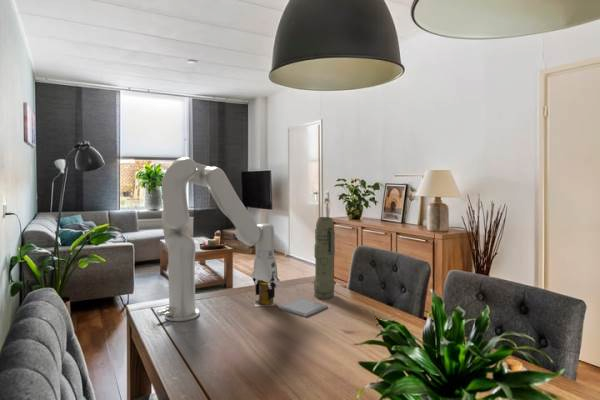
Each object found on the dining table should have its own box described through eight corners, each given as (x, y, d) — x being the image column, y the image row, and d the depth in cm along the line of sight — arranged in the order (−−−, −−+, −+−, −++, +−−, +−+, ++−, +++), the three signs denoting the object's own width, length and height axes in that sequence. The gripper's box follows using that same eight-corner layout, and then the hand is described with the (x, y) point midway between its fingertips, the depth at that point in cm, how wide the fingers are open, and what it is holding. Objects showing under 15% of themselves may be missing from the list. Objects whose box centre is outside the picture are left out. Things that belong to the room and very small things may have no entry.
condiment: (275, 305, 158) (275, 276, 157) (255, 307, 156) (254, 278, 155) (272, 299, 165) (272, 272, 164) (253, 301, 163) (253, 273, 162)
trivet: (305, 317, 144) (305, 315, 144) (278, 309, 153) (278, 306, 153) (327, 307, 155) (327, 305, 155) (301, 300, 164) (301, 298, 164)
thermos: (321, 290, 177) (322, 215, 175) (340, 297, 168) (341, 218, 166) (307, 294, 172) (308, 217, 169) (326, 301, 163) (327, 219, 160)
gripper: (286, 255, 156) (286, 298, 157) (256, 249, 167) (257, 289, 168) (273, 258, 150) (273, 303, 151) (243, 252, 161) (244, 293, 162)
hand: (264, 295), depth 160 cm, fingers open, 6 cm apart
